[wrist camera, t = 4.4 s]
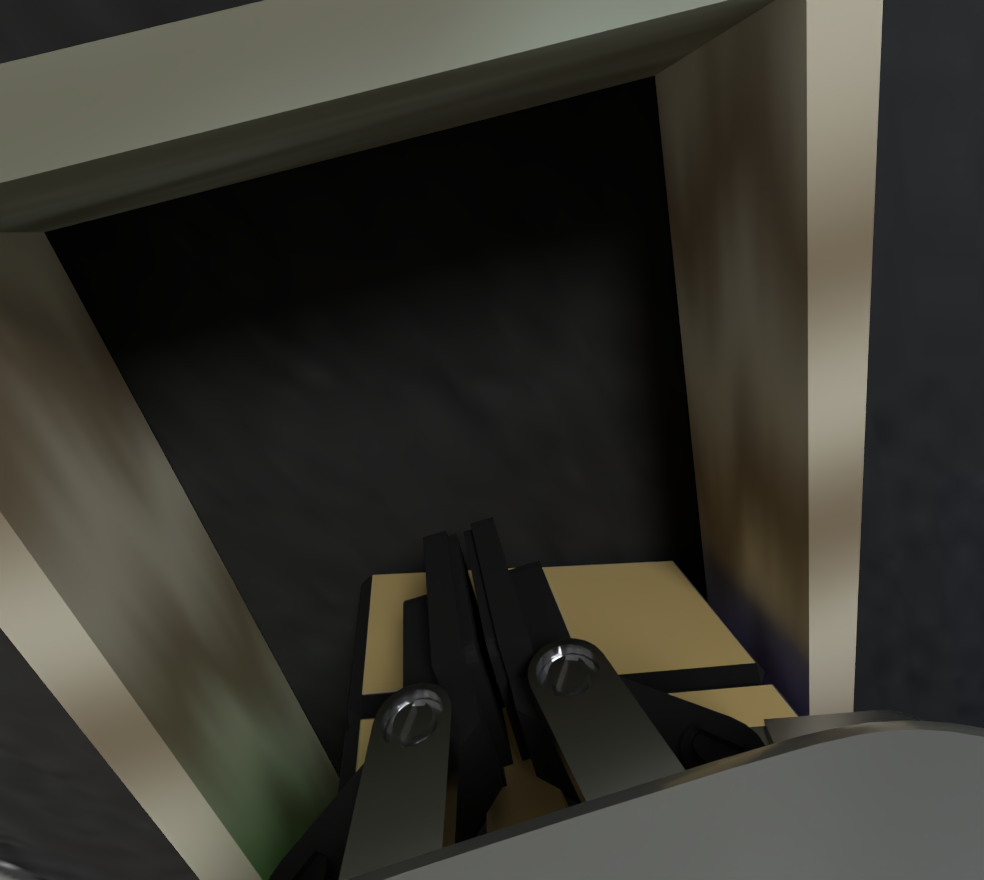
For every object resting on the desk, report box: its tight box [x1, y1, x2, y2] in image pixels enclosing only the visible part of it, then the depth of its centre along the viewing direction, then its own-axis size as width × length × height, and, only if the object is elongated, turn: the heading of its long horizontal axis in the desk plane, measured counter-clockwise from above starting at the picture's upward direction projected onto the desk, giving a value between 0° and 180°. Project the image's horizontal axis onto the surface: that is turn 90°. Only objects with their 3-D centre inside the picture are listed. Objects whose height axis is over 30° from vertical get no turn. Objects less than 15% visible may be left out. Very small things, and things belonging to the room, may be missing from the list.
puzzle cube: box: [338, 561, 799, 831], centre depth 14 cm, size 10×10×10 cm
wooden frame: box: [0, 0, 883, 880], centre depth 16 cm, size 35×17×5 cm, turn 13°
